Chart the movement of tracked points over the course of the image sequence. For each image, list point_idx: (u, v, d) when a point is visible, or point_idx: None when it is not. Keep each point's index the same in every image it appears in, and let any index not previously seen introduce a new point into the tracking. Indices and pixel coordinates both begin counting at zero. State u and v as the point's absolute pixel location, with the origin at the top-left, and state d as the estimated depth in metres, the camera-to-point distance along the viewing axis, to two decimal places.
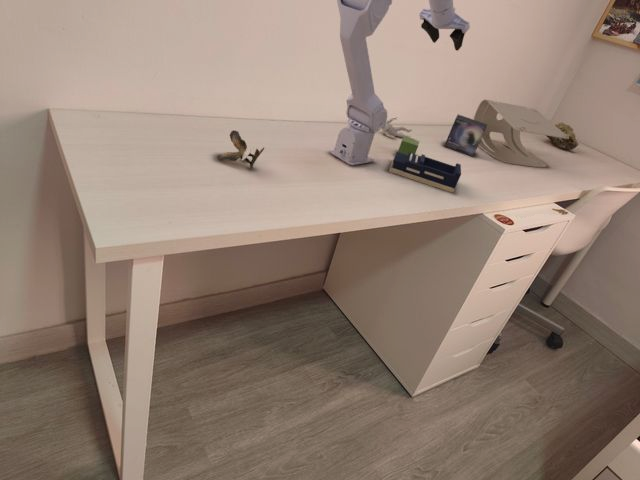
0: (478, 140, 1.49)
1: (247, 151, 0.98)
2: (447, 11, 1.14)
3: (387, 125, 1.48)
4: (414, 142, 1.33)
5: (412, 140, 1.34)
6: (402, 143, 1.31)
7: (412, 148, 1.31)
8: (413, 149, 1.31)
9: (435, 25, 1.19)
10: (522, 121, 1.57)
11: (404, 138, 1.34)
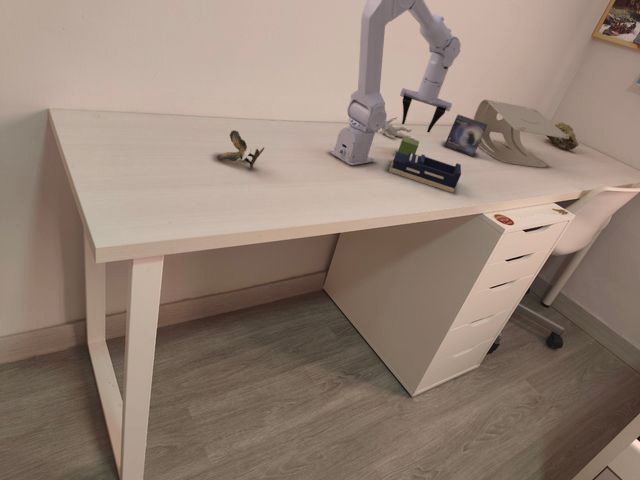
0: (478, 140, 1.49)
1: (247, 151, 0.98)
2: (441, 85, 1.23)
3: (387, 125, 1.48)
4: (414, 142, 1.33)
5: (412, 140, 1.34)
6: (402, 143, 1.31)
7: (412, 148, 1.31)
8: (413, 149, 1.31)
9: (425, 97, 1.24)
10: (522, 121, 1.57)
11: (404, 138, 1.34)
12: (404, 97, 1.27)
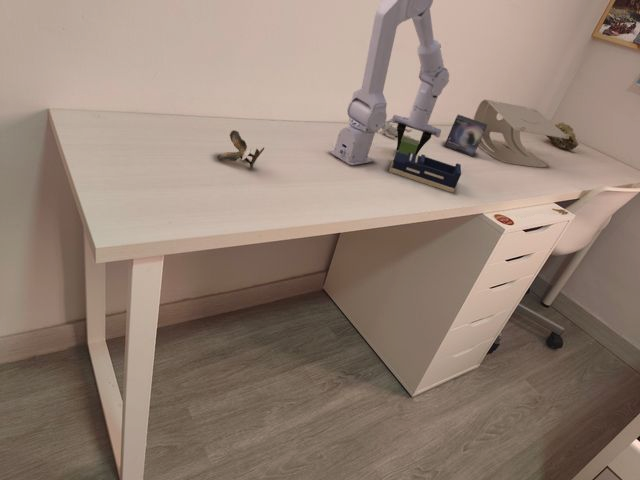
0: (478, 140, 1.49)
1: (247, 151, 0.98)
2: (430, 112, 1.27)
3: (387, 125, 1.48)
4: (414, 142, 1.33)
5: (412, 140, 1.34)
6: (402, 143, 1.31)
7: (412, 148, 1.31)
8: (413, 149, 1.31)
9: (415, 124, 1.28)
10: (522, 121, 1.57)
11: (404, 138, 1.34)
12: (398, 124, 1.31)
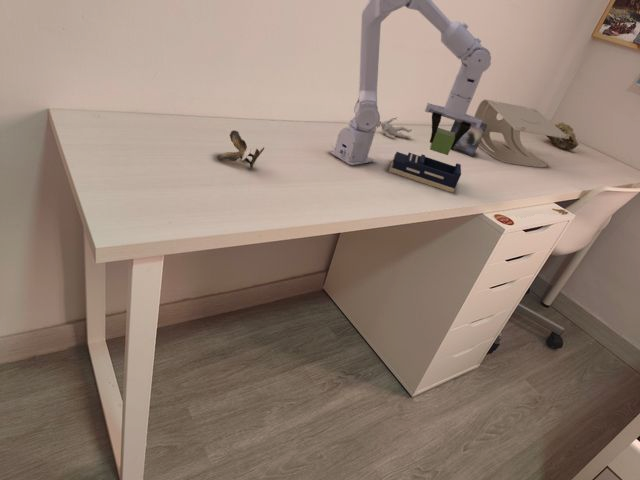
0: (478, 140, 1.49)
1: (247, 151, 0.98)
2: (470, 100, 1.13)
3: (387, 125, 1.48)
4: (450, 133, 1.19)
5: (447, 131, 1.20)
6: (437, 135, 1.18)
7: (448, 140, 1.17)
8: (449, 141, 1.18)
9: (453, 113, 1.14)
10: (522, 121, 1.57)
11: (438, 129, 1.20)
12: (433, 114, 1.17)
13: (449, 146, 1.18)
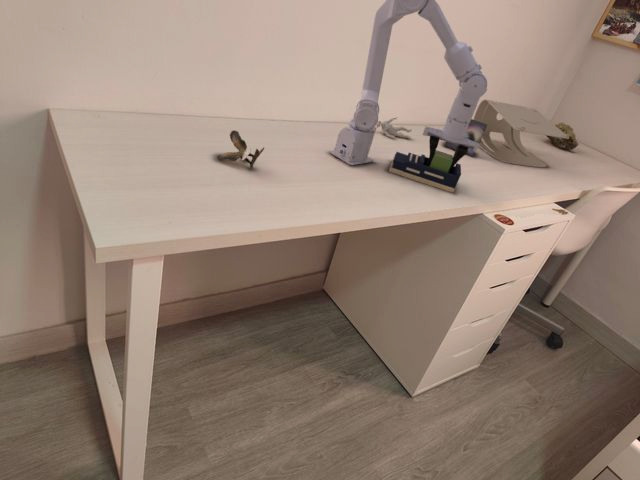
0: (478, 140, 1.49)
1: (247, 151, 0.98)
2: (468, 124, 1.14)
3: (387, 125, 1.48)
4: (448, 156, 1.20)
5: (445, 154, 1.21)
6: (435, 158, 1.18)
7: (446, 163, 1.18)
8: (447, 164, 1.18)
9: (450, 137, 1.15)
10: (522, 121, 1.57)
11: (436, 152, 1.20)
12: (431, 137, 1.18)
13: (447, 169, 1.19)
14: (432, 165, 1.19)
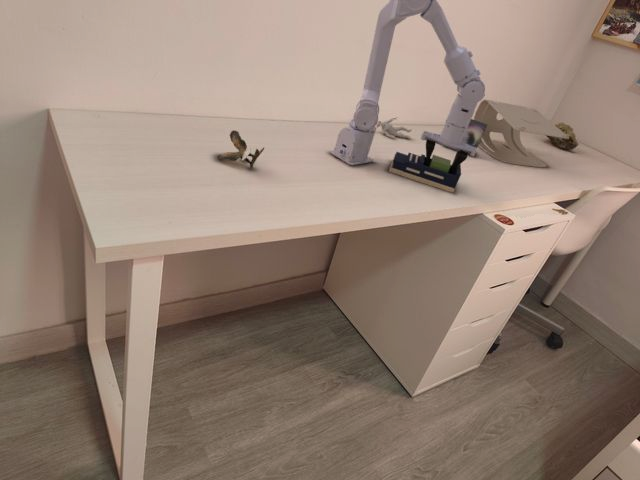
0: (478, 140, 1.49)
1: (247, 151, 0.98)
2: (465, 129, 1.14)
3: (387, 125, 1.48)
4: (445, 161, 1.20)
5: (443, 159, 1.22)
6: (433, 163, 1.19)
7: (444, 168, 1.19)
8: (445, 169, 1.19)
9: (448, 142, 1.15)
10: (522, 121, 1.57)
11: (434, 157, 1.21)
12: (427, 141, 1.18)
13: None
14: None
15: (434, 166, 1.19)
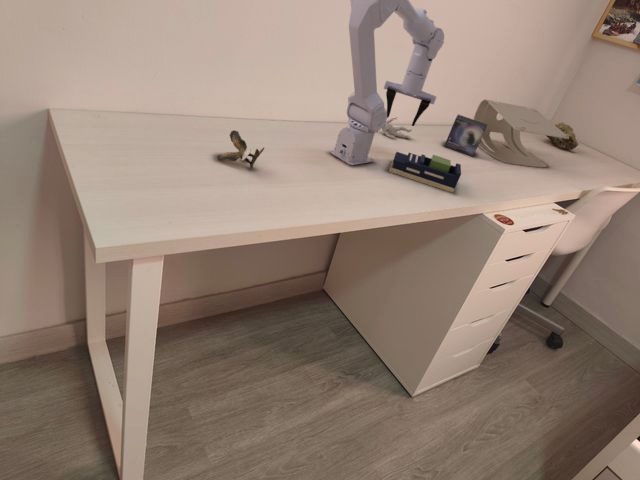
0: (478, 140, 1.49)
1: (247, 151, 0.98)
2: (425, 77, 1.21)
3: (387, 125, 1.48)
4: (445, 161, 1.20)
5: (443, 159, 1.22)
6: (433, 163, 1.19)
7: (444, 168, 1.19)
8: (445, 169, 1.19)
9: (408, 90, 1.22)
10: (522, 121, 1.57)
11: (434, 157, 1.21)
12: (388, 90, 1.25)
13: None
14: None
15: (434, 166, 1.19)
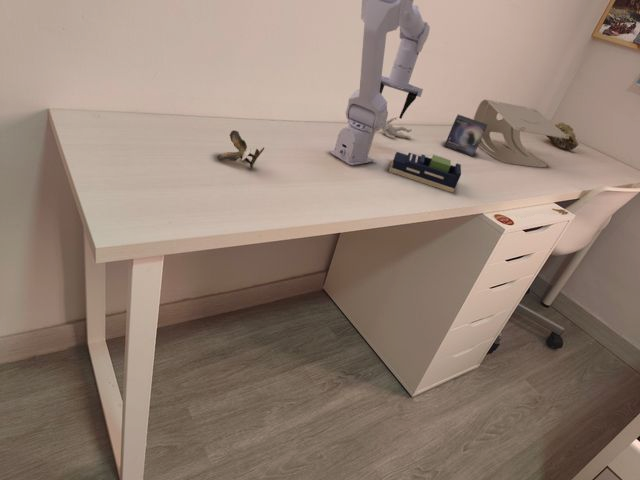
0: (478, 140, 1.49)
1: (247, 151, 0.98)
2: (411, 70, 1.24)
3: (387, 125, 1.48)
4: (445, 161, 1.20)
5: (443, 159, 1.22)
6: (433, 163, 1.19)
7: (444, 168, 1.19)
8: (445, 169, 1.19)
9: (395, 83, 1.24)
10: (522, 121, 1.57)
11: (434, 157, 1.21)
12: None
13: None
14: None
15: (434, 166, 1.19)
